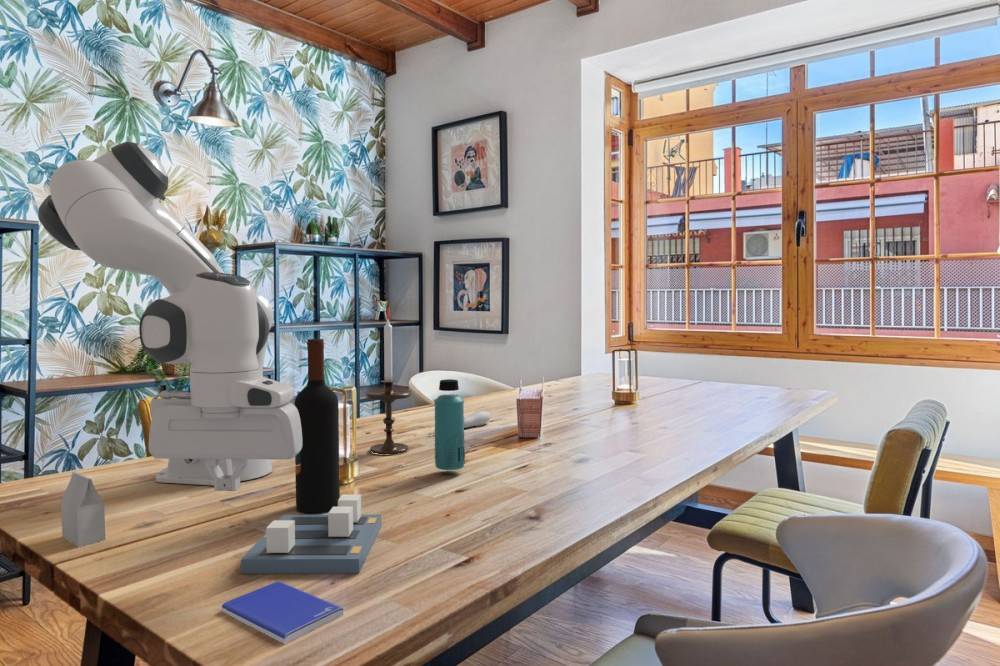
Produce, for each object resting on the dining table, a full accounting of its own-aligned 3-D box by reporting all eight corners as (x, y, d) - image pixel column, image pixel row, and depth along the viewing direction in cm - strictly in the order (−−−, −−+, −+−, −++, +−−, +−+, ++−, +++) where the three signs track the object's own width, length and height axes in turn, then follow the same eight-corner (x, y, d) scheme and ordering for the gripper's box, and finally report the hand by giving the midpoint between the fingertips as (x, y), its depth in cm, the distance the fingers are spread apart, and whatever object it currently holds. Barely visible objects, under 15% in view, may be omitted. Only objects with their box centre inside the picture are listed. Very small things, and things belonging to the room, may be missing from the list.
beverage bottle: (460, 478, 135) (460, 382, 134) (430, 476, 137) (429, 381, 135) (468, 470, 142) (468, 378, 140) (439, 468, 143) (438, 377, 142)
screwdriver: (423, 443, 176) (420, 427, 176) (483, 423, 195) (480, 409, 195) (435, 441, 173) (432, 425, 173) (495, 422, 192) (492, 408, 192)
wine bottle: (316, 516, 112) (314, 341, 110) (286, 509, 116) (283, 339, 114) (348, 504, 118) (346, 338, 116) (319, 497, 122) (316, 337, 120)
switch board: (241, 573, 89) (240, 558, 89) (283, 526, 107) (283, 514, 107) (359, 573, 89) (358, 558, 89) (381, 526, 107) (381, 513, 107)
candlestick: (384, 444, 166) (382, 306, 164) (420, 448, 161) (419, 306, 159) (357, 453, 156) (355, 306, 154) (394, 458, 152) (393, 307, 150)
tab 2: (338, 522, 102) (337, 500, 102) (342, 515, 105) (342, 494, 105) (357, 522, 102) (357, 500, 102) (361, 515, 105) (360, 494, 105)
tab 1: (266, 552, 90) (266, 527, 90) (273, 544, 93) (273, 520, 93) (288, 552, 90) (288, 527, 90) (295, 544, 93) (294, 520, 93)
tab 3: (328, 536, 96) (328, 513, 96) (333, 529, 99) (333, 506, 99) (348, 536, 96) (348, 513, 96) (353, 529, 99) (352, 506, 99)
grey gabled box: (78, 547, 98) (75, 482, 98) (62, 537, 102) (59, 474, 102) (105, 540, 101) (103, 476, 100) (88, 530, 105) (86, 469, 105)
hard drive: (343, 606, 78) (280, 579, 85) (284, 634, 71) (221, 603, 78) (343, 619, 78) (280, 591, 85) (284, 648, 71) (221, 615, 79)
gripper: (137, 393, 87) (140, 496, 88) (291, 394, 87) (292, 497, 88) (162, 387, 93) (164, 482, 94) (305, 387, 93) (306, 483, 94)
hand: (227, 489), depth 91 cm, fingers closed
